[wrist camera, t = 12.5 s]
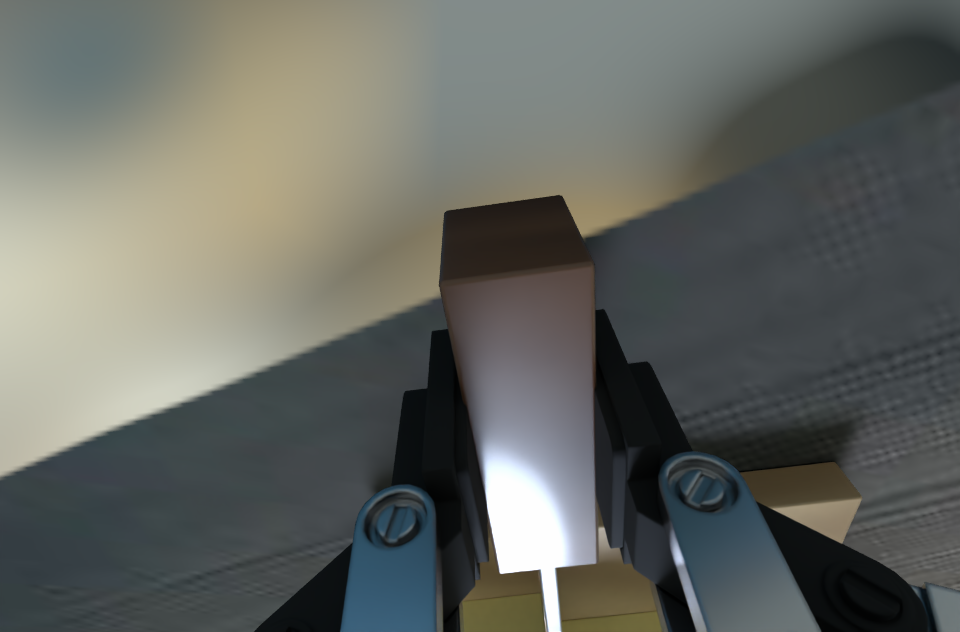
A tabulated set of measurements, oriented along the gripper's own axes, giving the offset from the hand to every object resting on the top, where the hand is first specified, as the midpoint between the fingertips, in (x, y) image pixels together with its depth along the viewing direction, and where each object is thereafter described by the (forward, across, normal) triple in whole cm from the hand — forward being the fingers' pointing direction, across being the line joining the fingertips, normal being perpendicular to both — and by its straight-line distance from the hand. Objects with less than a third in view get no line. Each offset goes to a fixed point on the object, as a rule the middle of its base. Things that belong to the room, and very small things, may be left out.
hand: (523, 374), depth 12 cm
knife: (0, 0, +5) cm, 5 cm away
